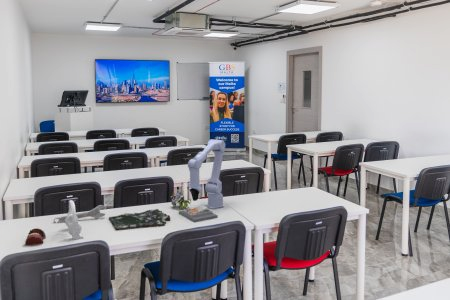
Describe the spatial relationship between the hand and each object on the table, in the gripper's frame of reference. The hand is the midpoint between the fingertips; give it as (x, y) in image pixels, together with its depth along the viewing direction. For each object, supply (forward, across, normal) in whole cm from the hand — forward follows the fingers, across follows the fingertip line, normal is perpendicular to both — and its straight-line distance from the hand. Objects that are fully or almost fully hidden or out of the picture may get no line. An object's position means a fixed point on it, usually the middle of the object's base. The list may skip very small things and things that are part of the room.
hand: (195, 200), depth 253 cm
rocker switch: (+6, +3, 0) cm, 7 cm away
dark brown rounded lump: (+8, -4, -90) cm, 91 cm away
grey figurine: (+8, -5, -71) cm, 72 cm away
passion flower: (+9, -18, -1) cm, 20 cm away
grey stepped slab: (+9, +3, 0) cm, 9 cm away
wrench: (+9, -26, -62) cm, 68 cm away
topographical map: (+9, -5, -33) cm, 35 cm away
